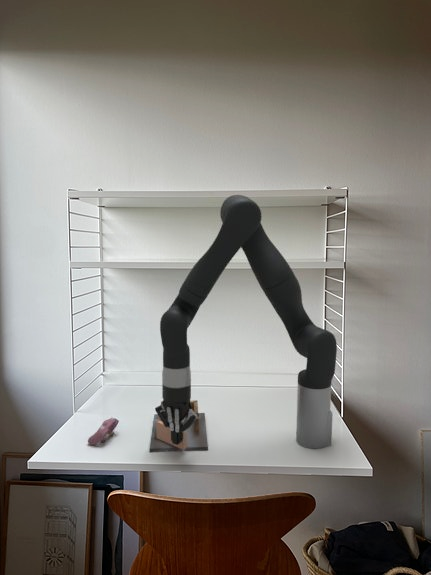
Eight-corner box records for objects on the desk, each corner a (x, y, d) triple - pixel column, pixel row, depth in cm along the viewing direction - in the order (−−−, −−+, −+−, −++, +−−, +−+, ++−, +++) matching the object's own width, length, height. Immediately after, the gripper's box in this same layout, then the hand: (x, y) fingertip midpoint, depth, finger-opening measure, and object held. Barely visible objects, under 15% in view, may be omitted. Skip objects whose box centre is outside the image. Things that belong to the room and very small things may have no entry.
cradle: (204, 415, 154) (204, 398, 153) (208, 450, 132) (207, 429, 131) (154, 417, 153) (153, 399, 152) (149, 452, 131) (149, 431, 130)
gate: (187, 447, 130) (186, 430, 130) (182, 450, 129) (182, 432, 128) (157, 435, 138) (156, 418, 137) (152, 437, 137) (152, 420, 136)
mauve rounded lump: (98, 452, 134) (108, 432, 132) (85, 443, 135) (94, 424, 133) (114, 436, 143) (123, 417, 142) (102, 428, 144) (110, 409, 142)
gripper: (147, 381, 126) (148, 443, 129) (190, 390, 120) (190, 455, 123) (163, 373, 133) (164, 432, 135) (205, 381, 126) (205, 442, 129)
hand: (176, 443), depth 129 cm, fingers closed
